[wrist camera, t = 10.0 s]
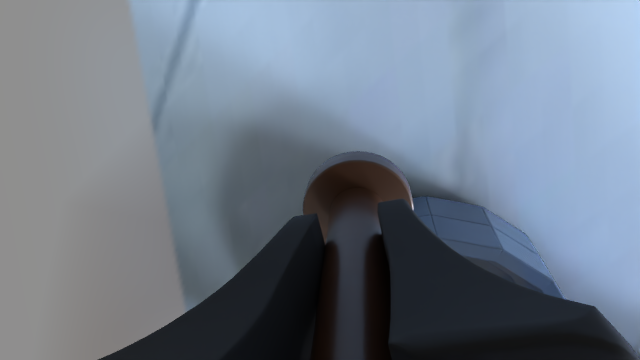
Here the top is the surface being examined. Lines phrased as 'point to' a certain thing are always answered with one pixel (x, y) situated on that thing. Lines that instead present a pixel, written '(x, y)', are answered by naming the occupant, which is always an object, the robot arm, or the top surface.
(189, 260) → the top surface
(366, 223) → the stick
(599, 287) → the top surface
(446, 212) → the bowl
